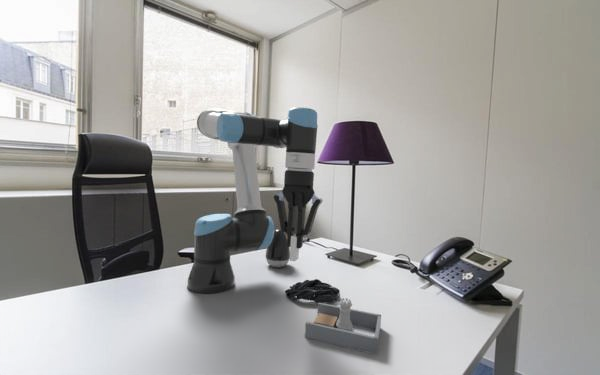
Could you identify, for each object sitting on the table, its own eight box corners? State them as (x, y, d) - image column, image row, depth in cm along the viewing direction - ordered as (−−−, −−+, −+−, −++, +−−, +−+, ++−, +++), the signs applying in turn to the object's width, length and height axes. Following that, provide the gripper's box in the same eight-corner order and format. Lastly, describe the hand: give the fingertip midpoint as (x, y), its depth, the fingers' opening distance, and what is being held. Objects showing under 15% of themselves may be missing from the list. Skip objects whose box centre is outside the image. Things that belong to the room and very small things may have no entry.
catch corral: (304, 337, 70) (305, 323, 70) (318, 314, 82) (318, 302, 82) (376, 354, 65) (378, 339, 65) (380, 327, 76) (381, 314, 76)
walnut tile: (313, 331, 74) (313, 321, 74) (318, 322, 78) (319, 312, 78) (332, 336, 72) (333, 326, 72) (336, 326, 77) (337, 316, 77)
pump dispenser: (262, 262, 125) (264, 226, 124) (286, 261, 128) (287, 226, 127) (267, 270, 115) (268, 232, 114) (292, 269, 118) (294, 231, 117)
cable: (286, 306, 87) (287, 291, 87) (282, 287, 101) (283, 274, 100) (342, 305, 89) (343, 291, 89) (331, 286, 103) (332, 274, 103)
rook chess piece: (339, 324, 77) (341, 294, 77) (355, 330, 75) (357, 299, 74) (332, 332, 73) (333, 300, 73) (348, 338, 71) (350, 306, 71)
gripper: (270, 168, 74) (265, 259, 76) (320, 171, 70) (313, 268, 72) (281, 168, 81) (276, 251, 83) (327, 171, 77) (321, 259, 79)
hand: (293, 259), depth 77 cm, fingers closed
